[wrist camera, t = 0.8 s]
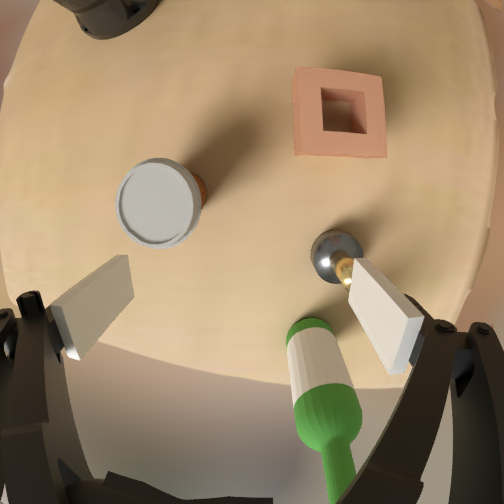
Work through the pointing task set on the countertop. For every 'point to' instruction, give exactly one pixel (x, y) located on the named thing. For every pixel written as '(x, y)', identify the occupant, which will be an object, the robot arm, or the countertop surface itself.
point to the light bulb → (335, 256)
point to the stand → (336, 116)
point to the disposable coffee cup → (159, 203)
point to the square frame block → (361, 110)
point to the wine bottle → (324, 400)
